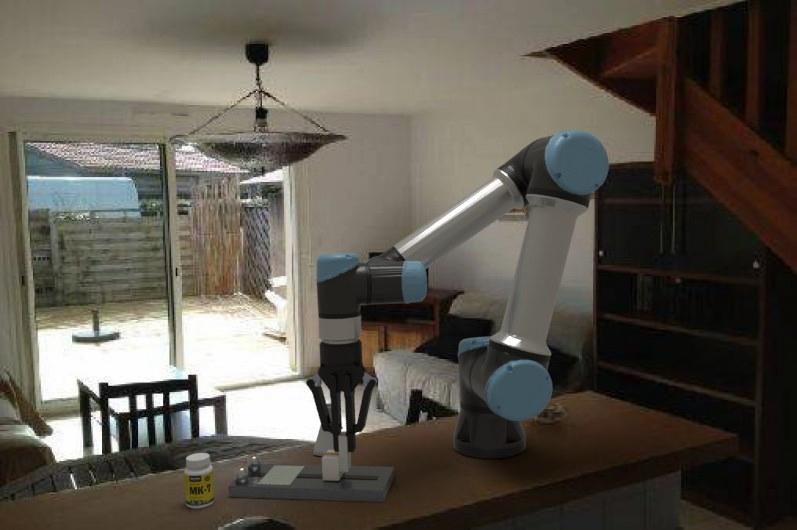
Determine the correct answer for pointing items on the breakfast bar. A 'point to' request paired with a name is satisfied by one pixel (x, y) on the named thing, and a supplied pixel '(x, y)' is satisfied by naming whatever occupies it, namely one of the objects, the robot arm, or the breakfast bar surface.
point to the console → (309, 482)
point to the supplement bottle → (199, 481)
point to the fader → (331, 466)
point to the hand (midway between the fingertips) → (345, 468)
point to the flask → (324, 439)
